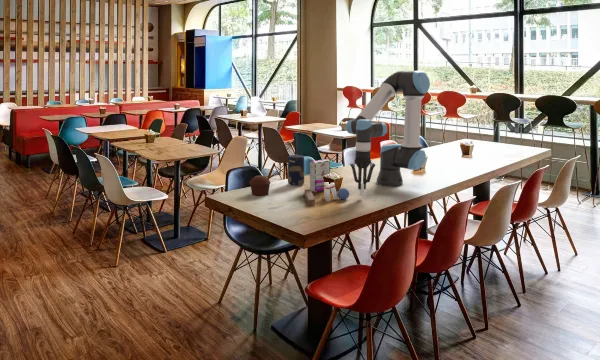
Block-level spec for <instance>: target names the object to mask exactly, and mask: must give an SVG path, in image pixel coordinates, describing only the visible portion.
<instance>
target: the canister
mask: <svg viewBox="0 0 600 360" xmlns="http://www.w3.org/2000/svg"><path fill="white" fill-rule="evenodd" d="M287 183H288V185H290V186H296V187H297V186H303V185H304V184H305V156H304V155H302V154H298V153H295V154H291V155H289V156H287Z"/></svg>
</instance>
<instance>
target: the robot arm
mask: <svg viewBox="0 0 600 360" xmlns="http://www.w3.org/2000/svg"><path fill="white" fill-rule="evenodd" d="M430 87H431V84H430V77H429V76H428V74H427V73H426V72H425V71H422V70H399V71H398V70H397V71H396V72H394V73H392V74H391V75H389V76H388V77H387V78H385V79H384V81H383V82H382V83H381V84H380V85H379V89H378V91H377V92H376V93H375V94H374V96H373V97H372V98H371V99H370V100H369V102H368V103H367V104H366V105H365V106H364V108H363V109H362V110H361V111H360V113H359V114H358V115H357V116H356V117H355V119H350V120H348V121H347V122H346V125H345V129H346V132H347V133H348V134H350V135H353V136H354V135H355V138H356V139H355V159H354V161H353V162H352V163H350V164H349V166H350V167H351V170H352V175H353V178H354V182H355V183H357V188H358V189H357V190H359V196H360V197H364V196H365V195H364V194H365V190H366V189H367V184H368V183H370V181H371V178H372V175H373V171H374V168H375V167H376V164H375V162H372V160H371V153H372V152H371V149H372V148H371V147H372V138H377V137H379V138H380V137H383V136H385V135H386V134H387V133H388V125H387V124H386V123H385V121H373V120H374V119H375V117H376V116H377V115H378V114H379V112H380V111H381V110H382V108H383V107H384V106H385V105H386V104H387V102H388V101H389V100H390V99H391V98H393V97H394V96H396V94H398V93H402V97H403V98H404V99H405V101H404V103H405V106H404V126H403V142H402V143H393V144H392V143H391V144H389V143H388V144H383V145H381V148H380V152H379V153H380V155H379V156H380V157H379V158H380V159H379V160H380V161H379V172H378V175H377V177H376V184H377V183H378V184H377V185H379V184H381V185H380V186H384V185H399V186H402V185H403V181H404V180H403V175H402V172H401V168H402V169H406V170H410V171H417V170H418V171H419V170H421V168H422V167H423V165H424V164H425V161H426V157H427V156H426V152H425V150H423V148H422V147H423V145H422V144H421V143H420V136H421V135H420V134H421V119H422V118H421V114H422V100H423V99H424V97H425V94H426V93H428V92H429V89H430ZM356 166H357V168H358V169H357V170H358V174H357V172H356V171H357V170H356ZM368 168H369V169H368ZM362 171H363V172H362ZM367 171H368V172H367ZM401 184H402V185H401Z"/></svg>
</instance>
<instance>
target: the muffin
mask: <svg viewBox="0 0 600 360" xmlns="http://www.w3.org/2000/svg"><path fill="white" fill-rule="evenodd" d="M270 184H272V183H271V181H270V180H269V178H268V177H267V176H265V175H261V174H260V175H256V176H254V177H252V178H251V179H250V180H249V185H250V189H251V196H254V197H266V196H269V192H270V186H271V185H270Z"/></svg>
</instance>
